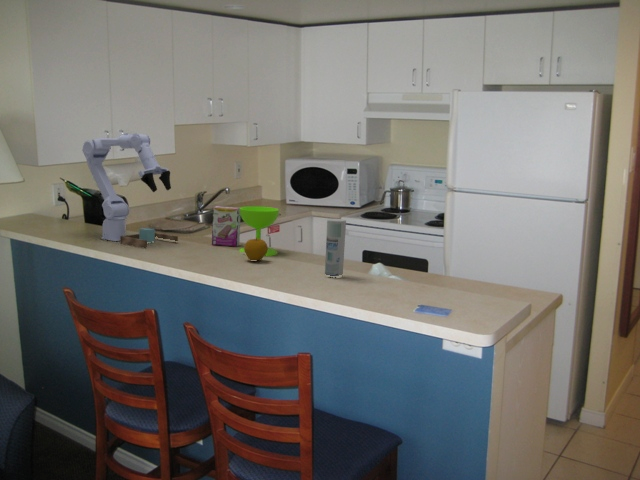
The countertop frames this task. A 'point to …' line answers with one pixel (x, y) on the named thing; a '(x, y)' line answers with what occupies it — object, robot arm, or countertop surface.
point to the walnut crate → (138, 242)
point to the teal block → (147, 234)
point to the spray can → (335, 247)
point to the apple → (255, 249)
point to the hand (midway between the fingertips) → (162, 190)
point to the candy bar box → (226, 226)
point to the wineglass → (259, 221)
